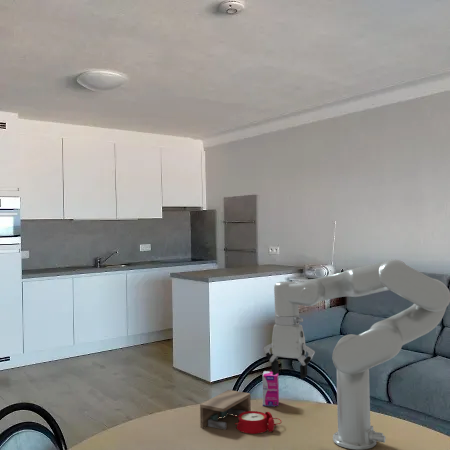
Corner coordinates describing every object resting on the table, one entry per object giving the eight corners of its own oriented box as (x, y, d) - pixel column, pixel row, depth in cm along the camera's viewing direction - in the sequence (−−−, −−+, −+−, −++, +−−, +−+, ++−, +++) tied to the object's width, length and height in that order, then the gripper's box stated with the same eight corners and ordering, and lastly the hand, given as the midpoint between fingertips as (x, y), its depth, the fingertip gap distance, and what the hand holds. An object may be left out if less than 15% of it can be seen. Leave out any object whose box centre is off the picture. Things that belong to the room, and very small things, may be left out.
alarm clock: (232, 412, 162) (275, 400, 163) (236, 430, 162) (279, 418, 162) (234, 423, 152) (280, 411, 152) (238, 443, 151) (284, 430, 152)
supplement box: (262, 406, 177) (261, 375, 178) (263, 401, 183) (263, 370, 184) (278, 407, 176) (277, 375, 177) (279, 401, 182) (278, 371, 183)
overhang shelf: (250, 415, 168) (250, 393, 169) (223, 432, 153) (223, 408, 153) (228, 411, 173) (228, 389, 173) (200, 427, 158) (200, 404, 158)
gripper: (317, 320, 151) (319, 375, 150) (268, 317, 160) (270, 370, 160) (308, 324, 145) (310, 382, 144) (257, 321, 154) (259, 375, 153)
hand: (289, 375), depth 152 cm, fingers open, 9 cm apart
